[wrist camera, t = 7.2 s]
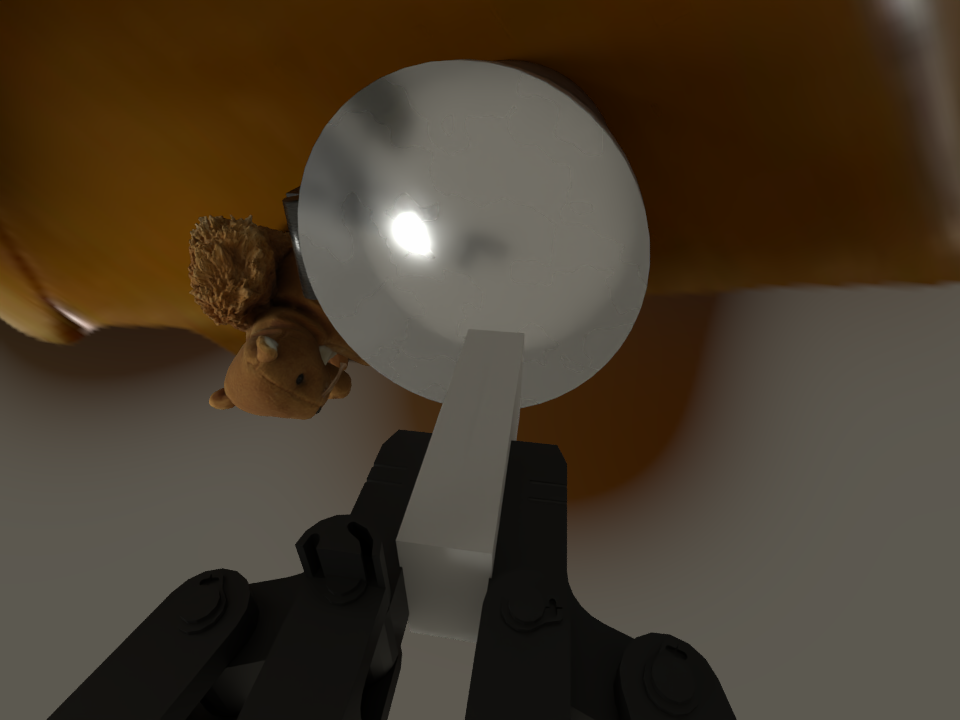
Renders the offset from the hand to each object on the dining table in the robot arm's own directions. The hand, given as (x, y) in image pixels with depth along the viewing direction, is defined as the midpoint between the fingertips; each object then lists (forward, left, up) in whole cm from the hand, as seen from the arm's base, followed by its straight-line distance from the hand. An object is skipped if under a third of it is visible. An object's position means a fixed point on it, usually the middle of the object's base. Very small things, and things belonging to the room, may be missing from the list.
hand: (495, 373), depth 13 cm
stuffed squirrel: (-8, -17, -21) cm, 28 cm away
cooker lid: (-2, -2, -9) cm, 9 cm away
